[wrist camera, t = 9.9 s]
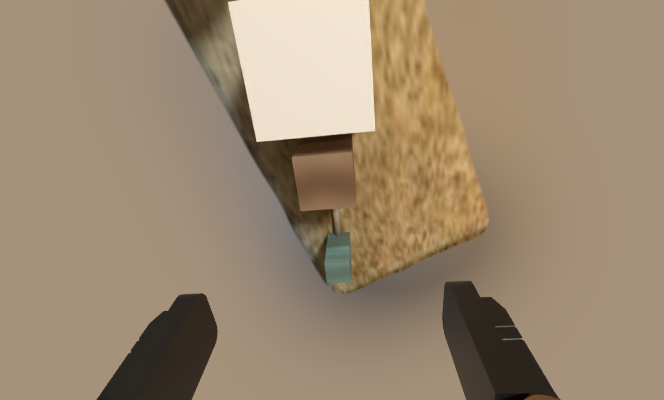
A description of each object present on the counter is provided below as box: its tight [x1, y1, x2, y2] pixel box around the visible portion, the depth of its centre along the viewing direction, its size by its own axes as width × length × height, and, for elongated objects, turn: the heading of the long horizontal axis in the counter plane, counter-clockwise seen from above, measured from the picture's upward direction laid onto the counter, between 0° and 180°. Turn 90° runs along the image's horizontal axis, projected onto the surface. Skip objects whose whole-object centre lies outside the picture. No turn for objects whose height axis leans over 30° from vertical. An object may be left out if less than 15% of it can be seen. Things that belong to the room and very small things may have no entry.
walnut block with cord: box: [292, 133, 356, 283], centre depth 33 cm, size 15×5×8 cm, turn 6°
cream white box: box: [228, 0, 375, 142], centre depth 26 cm, size 9×9×10 cm
